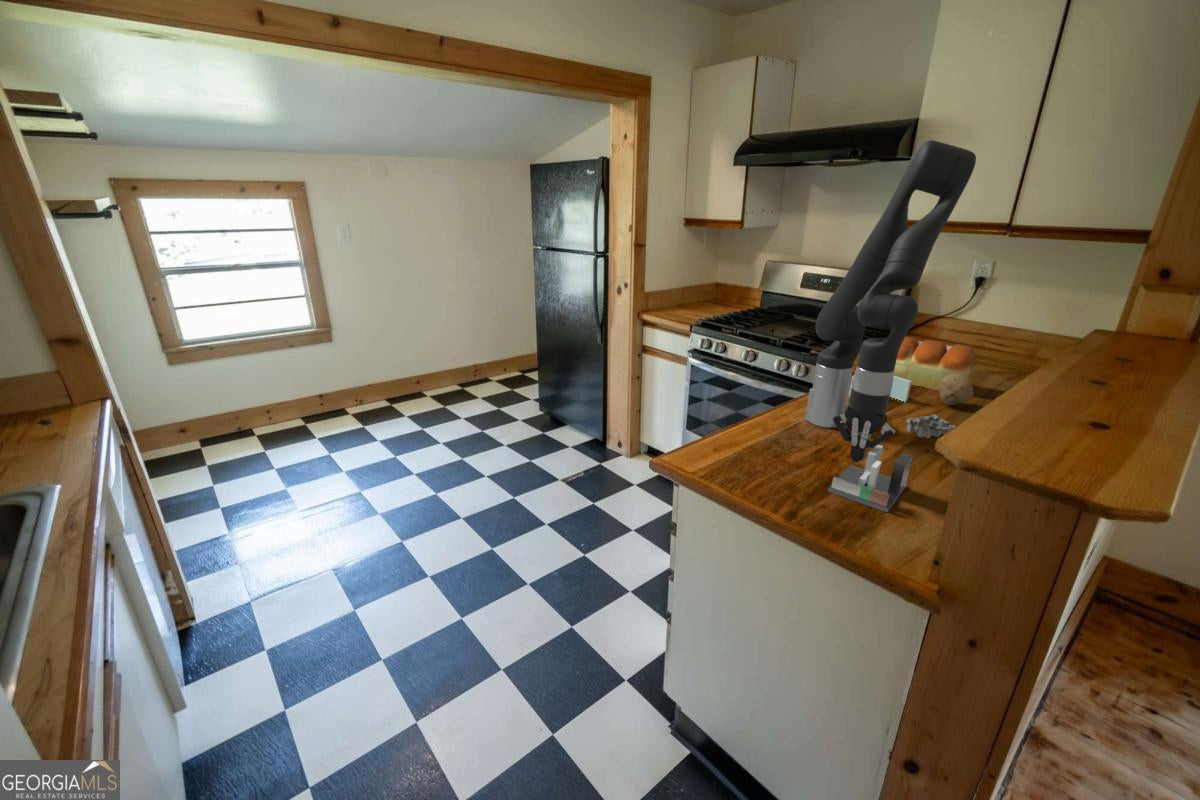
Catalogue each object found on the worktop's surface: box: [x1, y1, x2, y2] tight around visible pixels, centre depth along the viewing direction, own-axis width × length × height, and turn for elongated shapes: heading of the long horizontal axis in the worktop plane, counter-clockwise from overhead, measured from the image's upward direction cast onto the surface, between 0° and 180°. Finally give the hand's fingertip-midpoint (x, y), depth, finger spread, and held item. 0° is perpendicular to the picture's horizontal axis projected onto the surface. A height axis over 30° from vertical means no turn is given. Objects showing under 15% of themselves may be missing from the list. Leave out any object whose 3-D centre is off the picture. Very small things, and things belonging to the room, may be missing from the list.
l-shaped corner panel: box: [848, 375, 912, 403], centre depth 165 cm, size 12×12×8 cm
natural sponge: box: [938, 374, 974, 406], centre depth 159 cm, size 9×9×10 cm
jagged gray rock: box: [905, 413, 956, 439], centre depth 142 cm, size 11×8×4 cm
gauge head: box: [858, 444, 884, 486], centre depth 113 cm, size 1×10×7 cm, turn 137°
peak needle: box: [867, 460, 883, 489], centre depth 109 cm, size 1×4×7 cm, turn 137°
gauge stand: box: [827, 453, 914, 513], centre depth 113 cm, size 12×14×8 cm
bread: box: [894, 335, 977, 391], centre depth 178 cm, size 25×12×15 cm, turn 47°
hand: (856, 460), depth 117 cm, fingers closed
